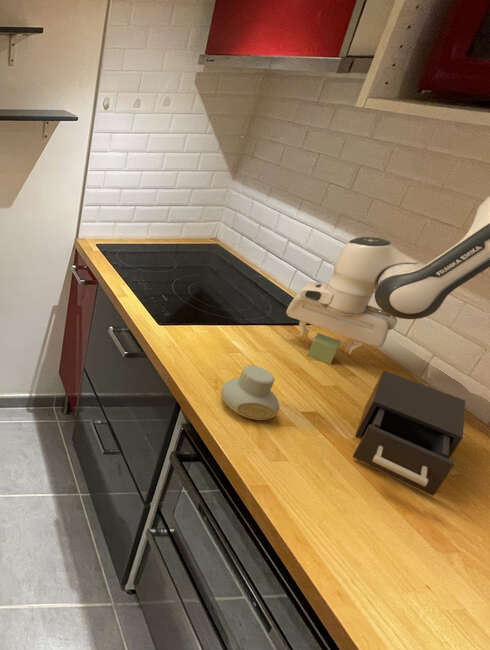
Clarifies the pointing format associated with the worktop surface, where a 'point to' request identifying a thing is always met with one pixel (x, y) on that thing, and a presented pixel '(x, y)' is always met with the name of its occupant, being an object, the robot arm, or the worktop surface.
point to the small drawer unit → (416, 406)
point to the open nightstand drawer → (406, 450)
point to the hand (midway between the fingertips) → (324, 343)
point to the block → (324, 348)
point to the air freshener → (252, 394)
